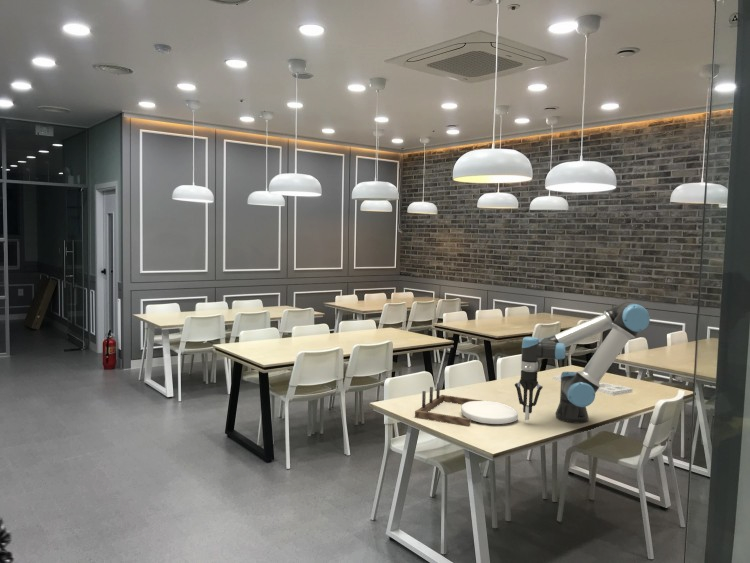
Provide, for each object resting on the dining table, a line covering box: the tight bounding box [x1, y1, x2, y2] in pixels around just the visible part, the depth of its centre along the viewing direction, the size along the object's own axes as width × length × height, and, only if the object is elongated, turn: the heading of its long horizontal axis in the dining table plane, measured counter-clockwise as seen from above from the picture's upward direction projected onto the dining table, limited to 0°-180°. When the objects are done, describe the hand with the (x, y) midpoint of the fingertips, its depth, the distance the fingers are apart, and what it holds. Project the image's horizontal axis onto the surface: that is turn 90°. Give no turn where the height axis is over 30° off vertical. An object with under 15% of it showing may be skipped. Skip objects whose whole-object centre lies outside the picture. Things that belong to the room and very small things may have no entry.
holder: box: [552, 374, 633, 396], centre depth 356 cm, size 45×18×3 cm, turn 30°
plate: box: [461, 400, 519, 425], centre depth 282 cm, size 28×6×27 cm
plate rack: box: [414, 382, 483, 427], centre depth 289 cm, size 27×37×11 cm
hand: (527, 419), depth 273 cm, fingers closed
